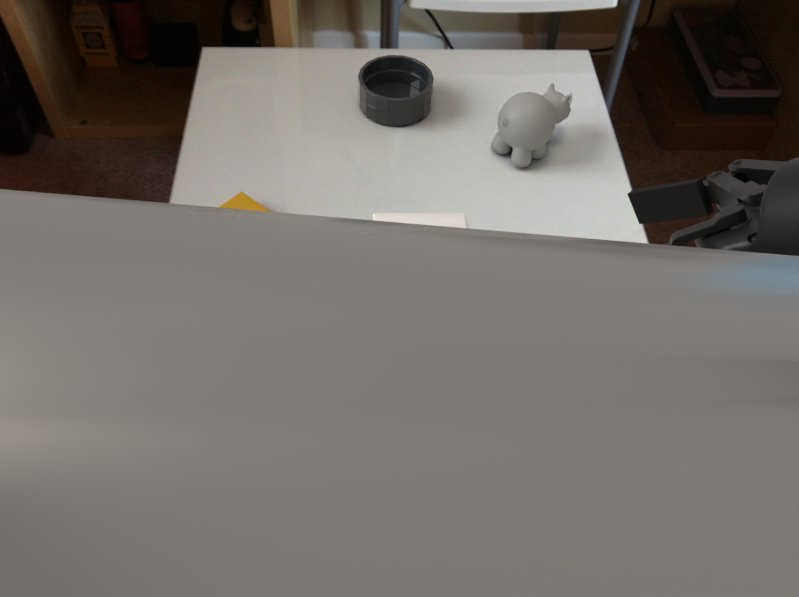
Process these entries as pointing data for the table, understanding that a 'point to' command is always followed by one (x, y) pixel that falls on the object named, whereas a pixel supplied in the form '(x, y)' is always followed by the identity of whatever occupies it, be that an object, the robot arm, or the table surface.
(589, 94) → the table surface
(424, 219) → the mug
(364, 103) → the dark grey round container
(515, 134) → the round bodied animal figurine
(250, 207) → the ochre rectangular brick
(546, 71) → the table surface
